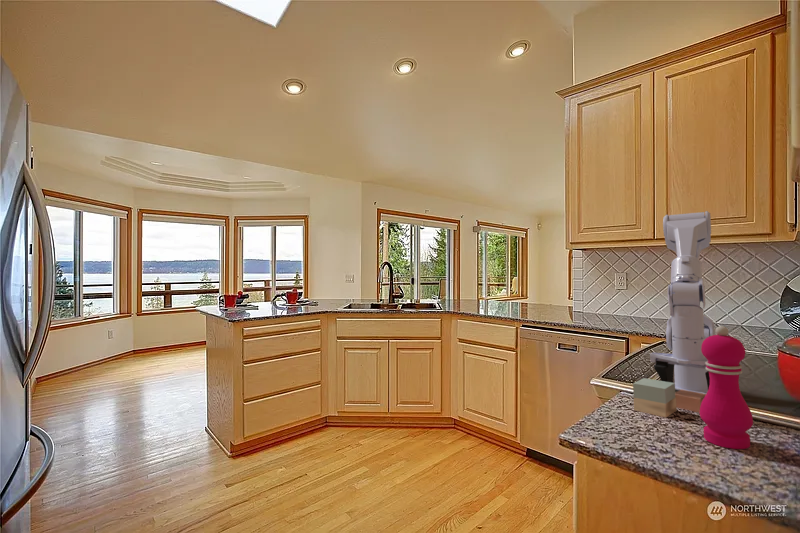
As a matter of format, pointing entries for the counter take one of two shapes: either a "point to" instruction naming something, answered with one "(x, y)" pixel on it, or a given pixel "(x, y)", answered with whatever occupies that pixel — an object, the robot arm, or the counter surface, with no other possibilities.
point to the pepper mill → (725, 393)
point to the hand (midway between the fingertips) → (690, 400)
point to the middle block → (654, 390)
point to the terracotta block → (689, 400)
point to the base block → (655, 407)
